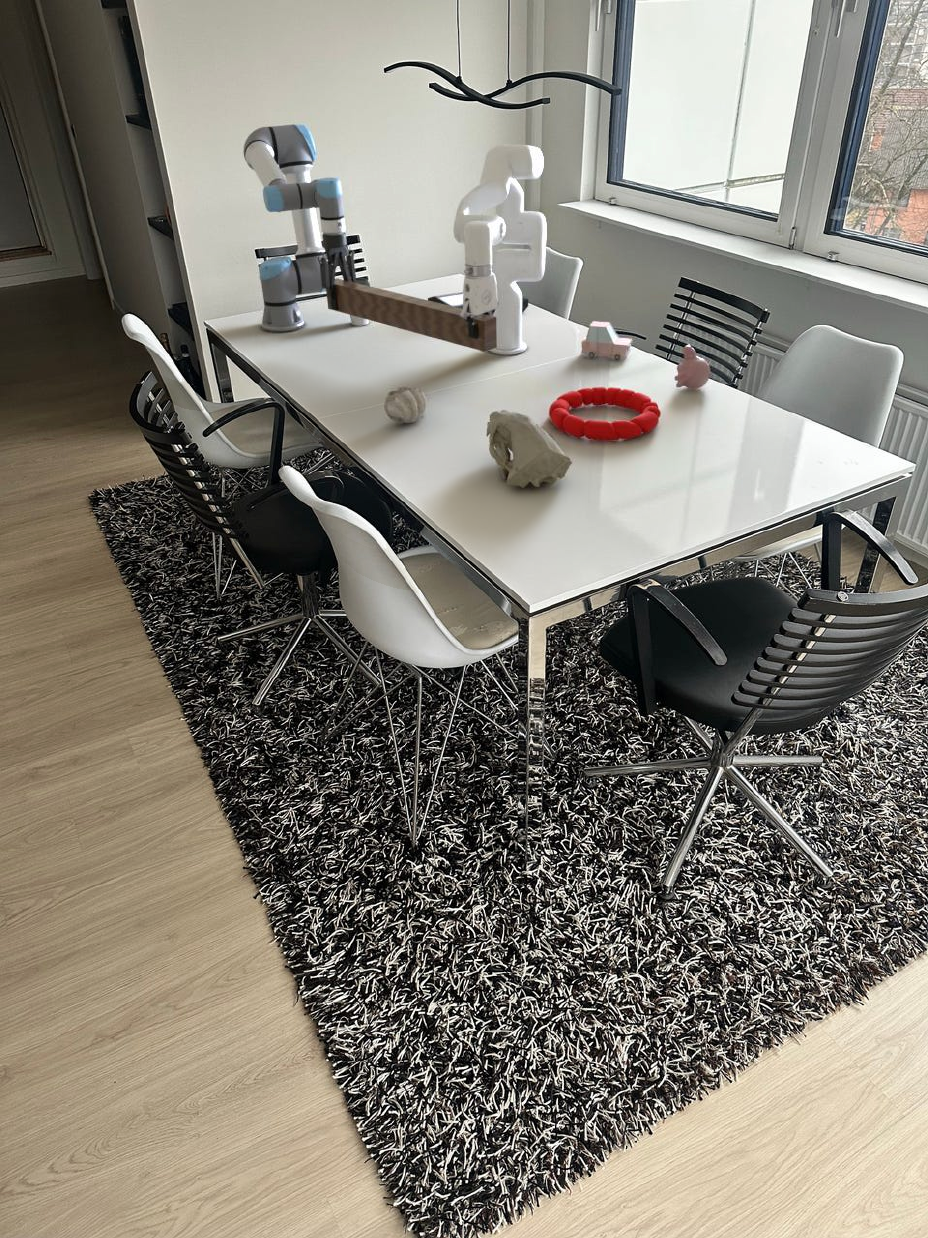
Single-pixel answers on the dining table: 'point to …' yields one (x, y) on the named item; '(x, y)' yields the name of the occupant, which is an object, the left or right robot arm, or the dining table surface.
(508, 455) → the animal skull
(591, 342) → the toy car
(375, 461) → the dining table surface
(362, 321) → the coffee cup
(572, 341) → the dining table surface
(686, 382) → the figurine
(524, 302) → the electronic device
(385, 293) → the post
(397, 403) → the seashell
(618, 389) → the decorative ring
